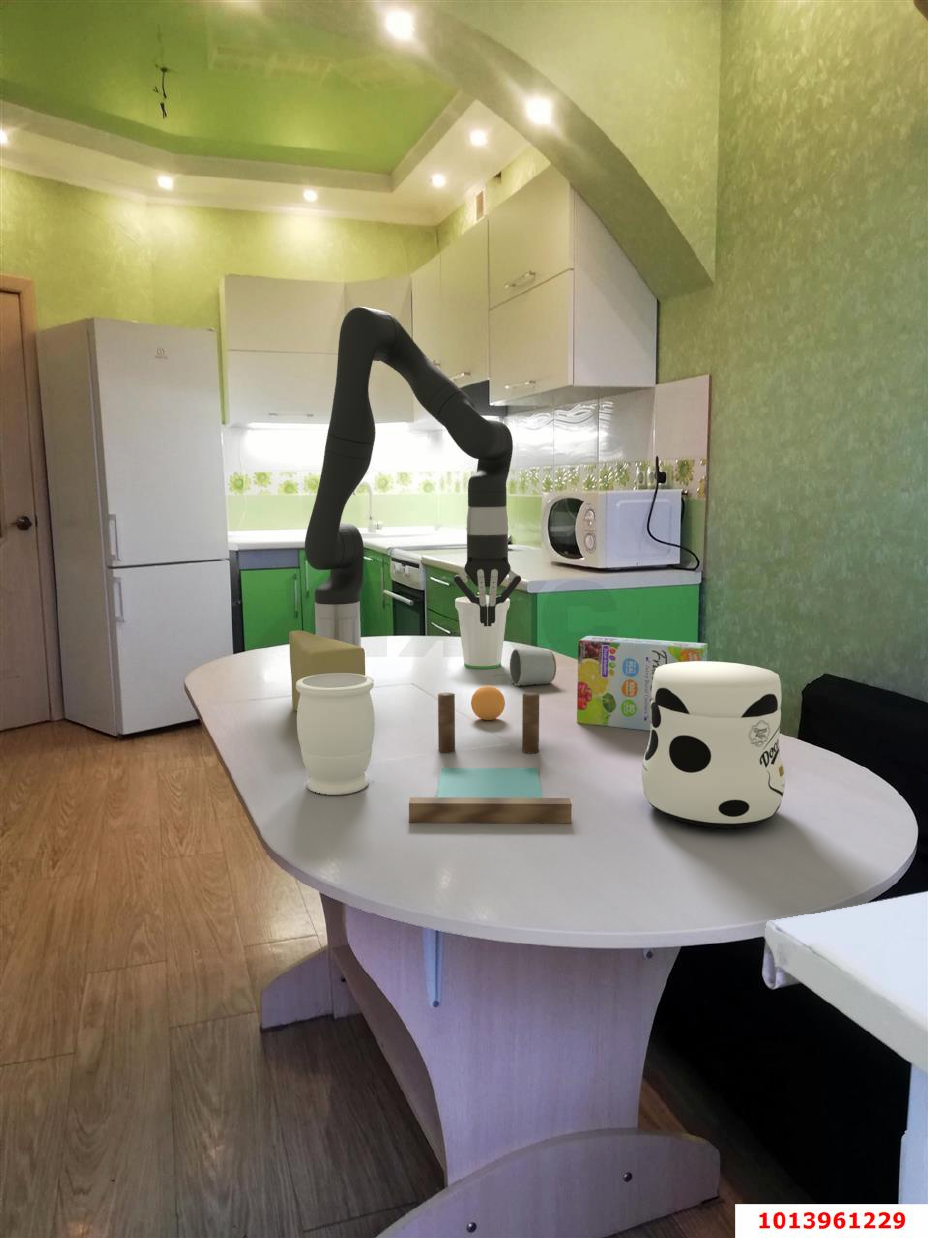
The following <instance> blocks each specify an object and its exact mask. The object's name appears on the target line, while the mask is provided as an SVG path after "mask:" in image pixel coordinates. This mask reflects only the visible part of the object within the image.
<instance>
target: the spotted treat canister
mask: <svg viewBox="0 0 928 1238" xmlns="http://www.w3.org/2000/svg"><path fill="white" fill-rule="evenodd" d="M651 695H652V701H651V730H650V731H649V732H650V734H649V738H648V744H647V747H646V750H645V752H644V755H643V759H642V764H641V765H642V766H641V782H642V788H643V789H642V790H643V793H644V796H645V798H646V800H647V802H648V803H649V804H650V806H651V807H652V808H653V809H654V810H656V811H657V812H659V813H661V814H663V815H665V816H666V817H668V818H671V819H674V820H676V821H680V822H683V823H686V824H691V825H696V826H703V827H709V828H728V829H729V828H741V827H750V826H754V825H757V824H760V823H763V822H766V821H768V820H770V819H771V818H772V817H773V816H774V815H775V814H777V812H778V811H779V809H780V807H781V805H782V801H783V797H784V794H785V793H784V792H785V785H786V779H785V777H786V776H785V770H784V765H783V761H782V757H781V752H780V751H781V750H780V730H781V729H780V728H781V718H782V711H781V707H782V697H783V696H782V695H783V694H782V683H781V678H780V675H779V674H778V673H776V672H775V671H773V670H770V669H767V668H763V667H759V666H755V665H749V664H743V663H738V662H737V663H736V662H726V661H724V662H723V661H709V660H707V661H692V662H677V663H671V664H665V665H662V666H660V667H657V668H656V670H655V672H654V676H653V683H652V693H651Z"/></svg>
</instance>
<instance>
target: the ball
mask: <svg viewBox="0 0 928 1238" xmlns="http://www.w3.org/2000/svg"><path fill="white" fill-rule="evenodd" d="M504 696H505V695H503V693H502V692H501V690H500V689H498V688H497V687H495V686H492V685H484V686H481V687H479V688H477V689H476V691H474V693H473V694H472V697H471V700H470V706H471V710H472V713H474V715H475V716H477V717H478V718H479V719H481V720H485V721H491V720H495V719H497V718H498V717H500V716H501V715H502V714H503V712H504V709H505V706H506V699H505V697H504Z"/></svg>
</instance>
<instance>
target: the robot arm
mask: <svg viewBox="0 0 928 1238" xmlns="http://www.w3.org/2000/svg"><path fill="white" fill-rule="evenodd" d="M374 362H382V363H384V364H385V365H387V366H389V367H390V368H391V369H393V370H394V371H396V372H397V373H398V374H399V375H400V376H401V377H402V378H403V379H404V380H405V381H406V383H407V384H408V386H409V387H410V389H411V391H412V393H413V395H414V397H415V398H416V399H417V402H419V404H420V405H421V406H422V408H423V409H424V410H426V411H427V412H428V414H430V416H432V417H433V418H434V419H435V420H436V421H437V422H438V423H439V424H440V425H442V427H444V428H445V430H446V432H448V434H449V435H450V437H451V439H452V440H453V441H454V443H455V444H456V445H457V447H459V449H460V450H461V451H462V452H463V453H464V454H466V455H467V456H469V457H471V458H473V459H475V460H477V466H476V473H474V474H473V475H471V476H470V477H469V478H468V483H467V512H466V513H467V515H466V527H465V529H466V562H465V565H464V566H463V567H464V570H462V571H461V572H460V573H458V574H456V575H454V577H453V581H454V583H455V584H456V585H457V587H458V588H459V589H460V590H461V592H463V594H464V595H465V597H467V598H468V599H469V600H470V602H472V603H475V604H478V605H479V607H480V622H481V623H484V626H487V605H486V596H487V595H486V594H487V593H486V592H487V591H486V588H487V587H489V595H488V596H489V605H488V626H491V623H494V622H495V607H496V605H497V604H499V603H504V602H505V601H506V599H507V598H508V599H509V597H510V596H511V594H512V593H513V591H514V590H515V589H516V588H517V587H518V585H519V584H520V583H521V581H522V577H521V575H519V574H517V573H516V572H514V571H513V570H512V568H511V564H510V563H509V518H508V510H507V508H508V507H507V506H508V505H507V504H508V503H507V498H508V497H507V481H508V477H509V474H510V468H511V465H512V464H511V462H512V458H513V451H514V445H513V444H514V443H513V442H514V441H513V436H512V433H511V430H510V429H509V427H508V426H507V425H506V424H505V423H504V422H501V421H499V420H494V419H493V420H492V419H491V420H490V419H487V418H485V417H483V416H482V415H480V414H479V412H478V411H477V410H476V409H475V404H474V402H473V400H472V399H471V398H470V397H469V395H468V394H467V393H465V391H463V390H462V389H461V388H460V387H459V386H458V385H457V384H456V383H455V382H453V381H452V380H451V378H449V377H448V376H447V375H446V374H445V373H443V372H442V371H441V370H440V369H439V368H438V367H437V366H436V365H435V364H434V363H433V361H431V360H430V359H429V358H428V356H427V355H426V354H425V353H424V352H423V351H422V349H421V348H420V347H419V345H418V344H417V343H416V342H415V341H414V339H413V338H412V337H411V336H410V334H409V333H408V332H407V330H406V329H405V327H404V326H403V325H402V323H400V321H399V320H398V319H397V318H396V317H395V316H394V315H392V314H391V313H389V312H387V311H384V310H380V309H375V308H369V307H365V306H356V307H354V308H352V309H350V310H349V311H347V313H346V315H345V316H344V318H343V321H342V323H341V326H340V332H339V338H338V350H337V366H336V379H335V387H334V394H333V399H332V406H331V414H330V420H329V426H328V430H327V433H326V440H325V446H324V452H323V453H324V455H323V461H322V467H321V472H320V475H319V476H320V478H319V483H318V488H317V492H316V497H315V501H314V505H313V508H312V512H311V516H310V519H309V521H308V522H309V523H308V526H307V530H306V534H305V539H304V554H305V558H306V561H307V563H308V565H309V566H311V568H313V569H314V570H318V571H329V570H330V573H329V575H328V577H327V579H326V580H325V581H324V582H323V583H321V584H320V585H318V586H317V587H316V588H315V590H314V613H315V617H314V618H315V619H314V620H315V635H318V636H321V637H325V638H328V639H333V640H338V641H342V642H345V643H348V644H351V645H355V646H359V647H362V643H361V641H362V639H361V638H362V637H361V634H362V633H361V601H360V599H361V597H360V596H361V592H362V589H363V585H364V565H365V564H364V560H365V551H364V550H365V547H364V540H363V537H362V534H361V531H360V530H359V529H358V528H357V527H356V526H355V525H354V524H351V523H346V522H345V523H343V522H342V517H343V513H344V510H345V508H346V505H347V502H348V501H349V499H350V498H351V496H352V494H353V493H354V492H355V490H356V489H357V488H358V486H359V485H360V483H361V481H362V480H363V478H364V477H365V476H366V474H367V472H368V470H369V468H370V465H371V462H372V458H373V457H372V456H373V452H374V446H375V441H376V424H375V419H374V414H373V409H372V406H371V401H370V393H369V384H370V378H371V372H372V367H373V363H374ZM341 522H342V523H341ZM468 578H469V579H470V580H471V581H472V583H473V585H475V586H476V587H477V588H478V595H476V594H475V593H474V592H473V590H472V589H471V588H470V586H468V584H467V583H468ZM506 578H507V582H508V584H507V585H506V587H504V589H503V591H502V592H501V593H500V594H499V595H497V592H498V591H497V590H498V589H497V588H498V587H499V586H501V585H502V583H503V581H504V580H505V579H506ZM478 596H479V597H478ZM496 596H497V597H496Z"/></svg>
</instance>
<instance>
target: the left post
mask: <svg viewBox="0 0 928 1238" xmlns="http://www.w3.org/2000/svg"><path fill="white" fill-rule="evenodd" d="M455 697H456V694H455V693H453V692H440V693H438V694H437V728H438V733H437V735H438V737H437V739H438V741H437V742H438V743H437V744H438V749H437V751H438V752H439V753H443V754H451V753H454V752H455V751H456V711H455V710H456V706H455V705H456V701H455V700H456V699H455Z"/></svg>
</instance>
